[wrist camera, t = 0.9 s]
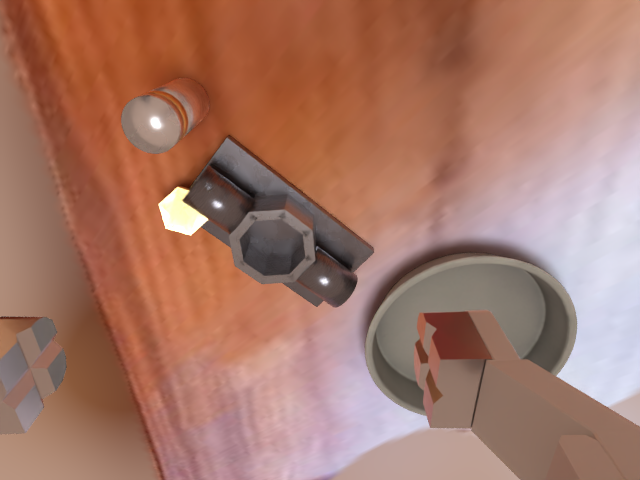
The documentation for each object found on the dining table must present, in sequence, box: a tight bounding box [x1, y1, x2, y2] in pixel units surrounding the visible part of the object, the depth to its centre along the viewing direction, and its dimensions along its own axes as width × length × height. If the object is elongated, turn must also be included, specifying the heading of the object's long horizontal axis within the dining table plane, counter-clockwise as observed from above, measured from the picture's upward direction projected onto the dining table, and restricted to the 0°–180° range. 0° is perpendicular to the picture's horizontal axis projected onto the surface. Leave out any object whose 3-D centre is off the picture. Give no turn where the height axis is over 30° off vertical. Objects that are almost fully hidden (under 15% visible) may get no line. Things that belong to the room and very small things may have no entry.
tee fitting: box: [182, 135, 374, 307], centre depth 46 cm, size 10×20×5 cm, turn 50°
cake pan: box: [365, 252, 577, 416], centre depth 53 cm, size 25×25×4 cm
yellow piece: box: [159, 185, 208, 235], centre depth 45 cm, size 4×5×2 cm
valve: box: [121, 78, 209, 154], centre depth 38 cm, size 4×4×10 cm
